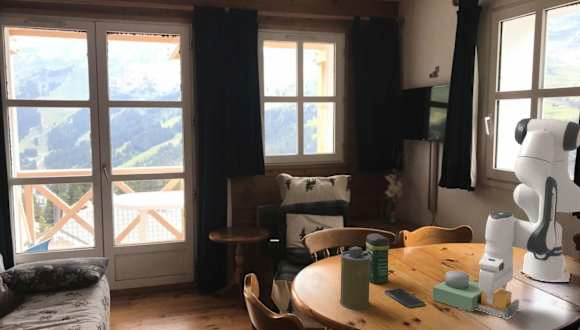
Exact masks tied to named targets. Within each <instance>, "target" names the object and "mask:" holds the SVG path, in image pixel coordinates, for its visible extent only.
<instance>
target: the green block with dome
mask: <svg viewBox="0 0 580 330" xmlns="http://www.w3.org/2000/svg"><path fill="white" fill-rule="evenodd" d="M432 288H433V289H432V301H433V300H434V301H433V302H436V301H438V302H437V303H439V302H441V303H440V304H442V303H445V304H444V305H446V304H448V305H447V306H449V305H451V306H450V307H452V306H455V307H459V308H462V309H465V310H469V311H472V310H474V309H475V304H476V303H480V304H481V296H482V292H481V291H480V288H479V282H476V281H472V280H470V275H469V274H468V273H467V272H465V271H459V270H448V271H446V272H445V279H444V281H443V282H440V283H438V284H437V285H434V286H432ZM455 307H454V308H455ZM462 309H461V310H462ZM465 310H464V311H465ZM474 311H475V310H474ZM472 312H473V311H472Z"/></svg>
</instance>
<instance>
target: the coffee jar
mask: <svg viewBox="0 0 580 330" xmlns="http://www.w3.org/2000/svg"><path fill="white" fill-rule="evenodd" d="M365 244H366V252H369V254H370V255H371V258H370V279H369V282H371V283H373V284H385V283H387V282H388V281H389V249H390V239H389V238H388V237H386V236H384V235H381V234H379V233H369V234H367V236H366V240H365Z"/></svg>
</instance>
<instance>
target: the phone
mask: <svg viewBox="0 0 580 330" xmlns="http://www.w3.org/2000/svg"><path fill="white" fill-rule="evenodd" d="M383 293H384V295H385V296H387V297H389V298H391V299H392V300H393V301H395V302H397V303H399V304H400V305H401V306H403V307H404V308H406V307H407V308H408V309H412V307H413V308H417V307H418V306H419V307H423V305H424V306H425V305H426V302H425V301H424V300H422V299H420V298H418V297H417V296H415V295H413V294H411V292H408V291H407V290H405V289H403V288H393V289H388V290H387V289H386V290H384V292H383ZM419 307H418V308H419Z"/></svg>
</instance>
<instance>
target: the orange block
mask: <svg viewBox="0 0 580 330" xmlns="http://www.w3.org/2000/svg"><path fill="white" fill-rule="evenodd" d="M493 298H494V302H493V303H492V304H490V303H488V302H487V296H486V293H484V292H482V296H481V304H483V305H487V306H490V307H493V308H497V309H500V310H504V311H505V307H507V306H508V305H509V304H511V303H512V291H510V290H509V291H508V290H506V289H505V290H502V289H497V290H496V291H494V294H493Z"/></svg>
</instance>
